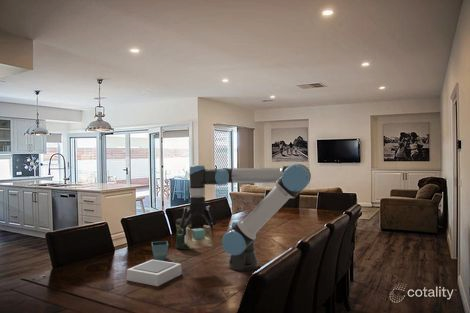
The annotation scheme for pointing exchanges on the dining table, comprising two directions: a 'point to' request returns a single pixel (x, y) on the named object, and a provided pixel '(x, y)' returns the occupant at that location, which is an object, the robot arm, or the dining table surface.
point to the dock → (154, 272)
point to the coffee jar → (181, 235)
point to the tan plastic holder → (199, 242)
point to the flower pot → (160, 250)
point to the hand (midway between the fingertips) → (198, 240)
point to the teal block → (198, 233)
